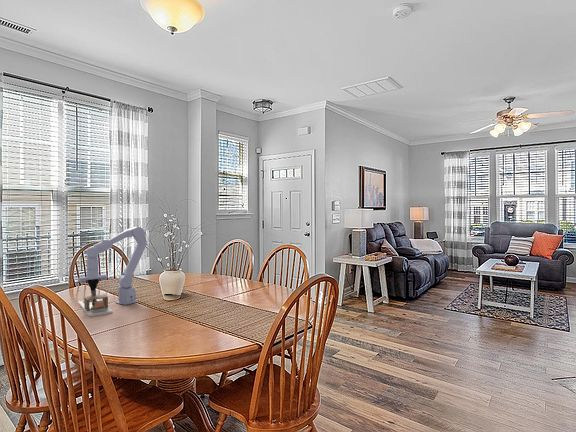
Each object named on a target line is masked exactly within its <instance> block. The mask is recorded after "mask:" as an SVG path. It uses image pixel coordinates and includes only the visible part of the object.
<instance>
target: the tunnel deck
mask: <svg viewBox="0 0 576 432" xmlns="http://www.w3.org/2000/svg"><path fill="white" fill-rule="evenodd" d="M83 298H84V299H83V300H78V301H77V304H78V305H79V306H80V308H81V307H82V308H81V309H82V310H83V312H84V313H85V314H86V315H87V317H89V318H90V317H96V316H102V315H103V316H104V315H107V314H112V313H113V310H112V309H111V308H110V307H109V296H108V295H106V294H105V293H104V294H102V293H101V294H98V295H97V294H96V295H95V296H92V295H89V296H88V295H87V296H84V297H83ZM92 300H96V301H103V302H104V305H105V308H107V311H101V312H95V313H93V312H92V311H91V310H90V304H92Z"/></svg>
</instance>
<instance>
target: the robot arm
mask: <svg viewBox="0 0 576 432" xmlns="http://www.w3.org/2000/svg"><path fill="white" fill-rule="evenodd" d="M126 238H134V239H135V241H136V245H135V248H134V250H133V252H132V254H131V257H130V258H129V260H128V263H127V265H126V267H125V269H124V270H123V272H122V273H121V274H120V275H119V277H118V279H117V281H118V283H119V286H118V295H117V296H118V300H116V301H115V303H114V304H119V305H124V306H126V305H130V304H133V303H134V304H135V303H137V302H138V301H137V291H136V289H135V288H133V285H132V283H133V277H134V274H135V271H136V268H137V266H138V264H139V262H140V260H141V257H142V255H143V254H144V252H145V249H146V247H147V245H148V241H147V234H146V231H145V230H144V228H142V227H141V226H137V225H136V226H133V227H129V228H127V229H126V230H124V231H122V232H120V233H118V234H116V235H115V236H112V238H110V239H108V238H105V239H104V238H102V239H101V241H99V242H97V243H96V244H93V245H92V246H89V247H87V249H86V250H85V251H86V252H85V254H86V276H82V277H77V282H78V283H81V282H87V284H88V286H89V289H90V293H91V294H92V290H96V289H97V287H98V284H99V283H100V280H106V279H108V277H109V276H108V274H99V273H100V272H99V268H100V267H99V265H100V264H99V254H103V253H104V252H106V251H108V250H109V249H112V247H113V245H114V244H116V243H118V242H120V241H122V240H124V239H126ZM96 291H97V290H96Z"/></svg>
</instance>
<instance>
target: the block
mask: <svg viewBox="0 0 576 432" xmlns="http://www.w3.org/2000/svg"><path fill="white" fill-rule="evenodd" d="M101 308H104V302H103V300H101V301H95V302H94V310H95V309H101Z"/></svg>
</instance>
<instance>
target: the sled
mask: <svg viewBox="0 0 576 432" xmlns="http://www.w3.org/2000/svg"><path fill="white" fill-rule="evenodd" d="M95 295H97V290H92V293H91V296H95ZM95 301H96V300H92V304H90V310H91V311H92V312H93V313H95V312H101V311H107V308H105V305H104V308H101V309H95V310H94V302H95Z"/></svg>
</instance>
